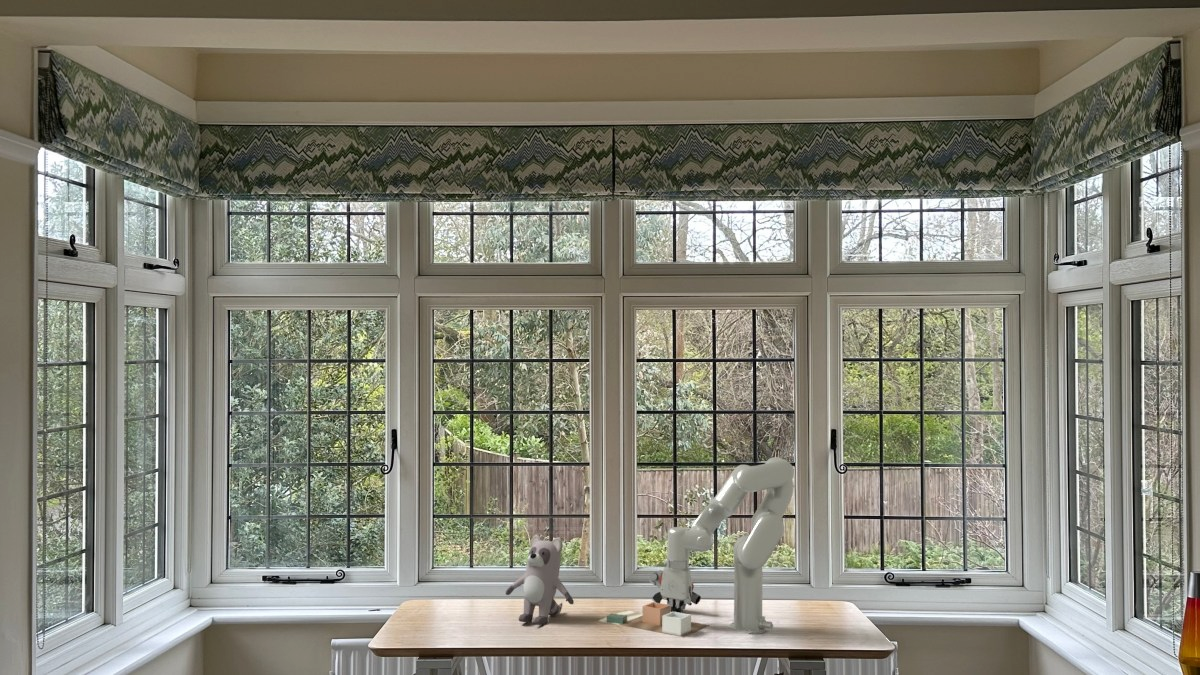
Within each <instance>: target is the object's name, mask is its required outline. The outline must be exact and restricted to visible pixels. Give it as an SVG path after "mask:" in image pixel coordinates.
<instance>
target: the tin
mask: <svg viewBox="0 0 1200 675" xmlns="http://www.w3.org/2000/svg"><path fill="white" fill-rule="evenodd" d="M606 617H607V622H611V623H610V624H612V623H619V624H624V623H625V622H627V615H620V614H617V613H610V614H608V615H606ZM607 622H606V623H607Z"/></svg>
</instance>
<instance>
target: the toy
mask: <svg viewBox="0 0 1200 675" xmlns="http://www.w3.org/2000/svg"><path fill="white" fill-rule="evenodd" d="M529 548H530V549H529V552H528V554H527V556H528V557H527V561H526V568H525V573H524V574H522V576H521V577H519V578H518V579H517V580H515V581H514V582H513V583H512V584H511V585H510V586H509V587H508V588H507V589H506V590H505V595H507V596H510V595H511V594H512V593H513V591H514V590H515V589H517V588H519V587H521V586H522V585H523V588H522V589H523V594H524V596H523V597H524V599H523V613H522V614H519V616H518V621H519V622H521V623H528V624H529V623H530V624H531V623H532V621H533V622H534V623H533V624H535V625H538V626H539V625H540V626H547V625H548V622H549V616H551V617H556V616H558V615H559V614H560V613H561V611H562V608H563V602H561V603H559V604H558V603H557V601H556V600H555V599H554V597H555V595H556V593H557V590H558V591H559V592H560V593H561V594H562V596H564V597H565V602H568V603H569V604H570V605H574V604H575V602H574V599H573V597H572V595H571V594H570V593H569V591H568V590H567V588H566V587H565V585H564V584H563V583H562V581H561V579H560V578H559V575H560V569H561V568H560V567H561V562H562V550H563V548H564V547H563V540H562V538H561V536H557V537H555V538H554V539H552V541H550V540H543V538H542V537H541V536H540V535H539V534H534V535H533V537H532V538H531V540H530V543H529ZM536 607H538V616H536V617H535V618H534V612H535V609H536ZM533 618H534V620H533Z"/></svg>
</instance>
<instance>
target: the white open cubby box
mask: <svg viewBox="0 0 1200 675" xmlns="http://www.w3.org/2000/svg"><path fill="white" fill-rule="evenodd" d="M672 616H675V617H683V618H681V619H680V618H674V617H672ZM691 622H692V614H690V613H684V612H681V613H679V612H670V613H668V614H666V615H663V616H662V633H661V634H664V633H667V634H666V635H669V634H672V635H671V636H674V635H677V636H676V637H679V636H682V635H684V634H686V633H689V632H691Z"/></svg>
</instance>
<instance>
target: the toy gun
mask: <svg viewBox="0 0 1200 675" xmlns="http://www.w3.org/2000/svg"><path fill="white" fill-rule="evenodd" d="M663 571H664V570H657V571H655V572H653V573H652V574H651V575H650V577H649V579H648V580H649V581H648V582H649V583H650V584H652V585H653V586H655V587H657V588H659V589H661V581H662V575H663ZM694 587H695V585H694V582H693V581H692V596H691V603H689V604H684V605H683V606H682V607H681V613H684V610H685V609H686V606H687V605H688V606H692V604H694V605H698V604H699V602H700V601H701V598H702V597H701V595H700V594H698V593H696V592H694ZM651 600H652V602H655V603H661V601H662V600H664V599H663V598H662V595H661V591H658V592H657V593H655V594H654V595H653V596H652V598H651ZM676 601H677V600H676ZM666 604H667V605H670V604H669V603H668V601H667V600H666ZM670 612H671V607H670Z"/></svg>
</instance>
